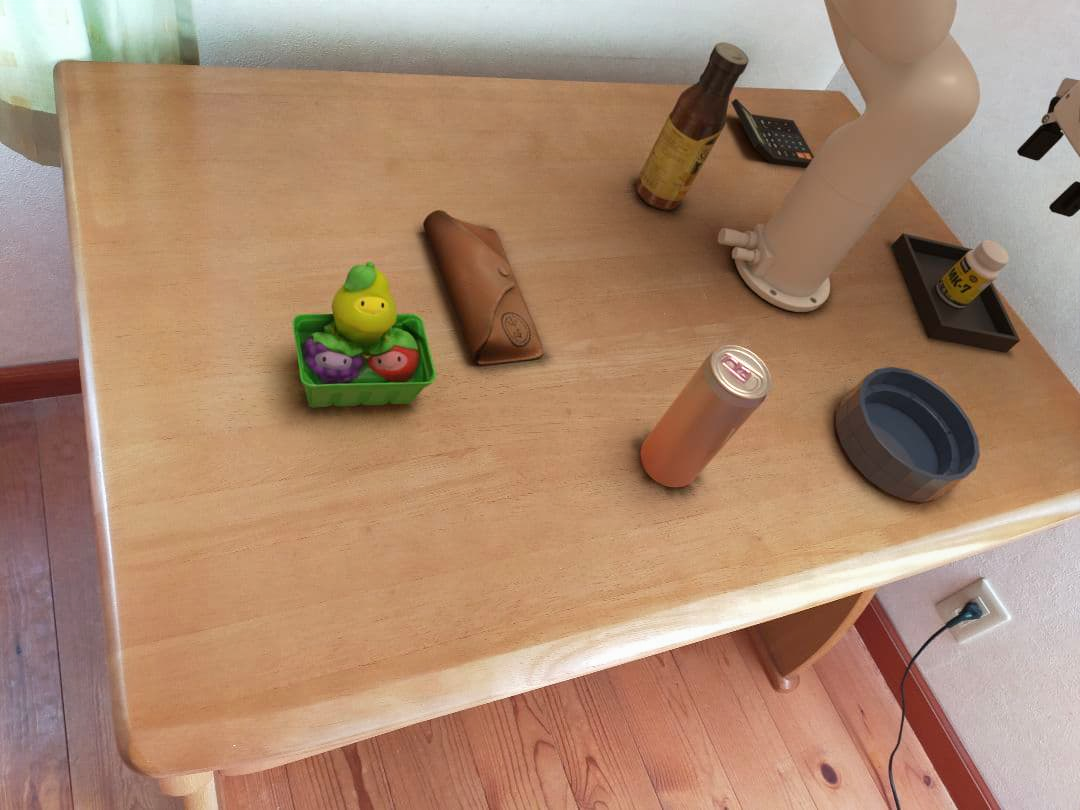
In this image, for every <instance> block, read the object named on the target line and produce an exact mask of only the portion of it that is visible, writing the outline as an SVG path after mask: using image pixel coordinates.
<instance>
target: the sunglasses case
mask: <svg viewBox="0 0 1080 810" xmlns="http://www.w3.org/2000/svg"><path fill="white" fill-rule="evenodd" d="M422 224H423V225H422V226H423V230H424V233H425V236H426V239H427V241H428V243H429V246H430V248H431V250H432V252H433V255H434V258H435V261H436V263H437V266H438V268H439V271H440V273H441V276H442V278H443V281H444V284H445V287H446V289H447V292H448V295H449V297H450V299H451V302H452V305H453V309H454V310H455V313H456V316H457V319H458V322H459V325H460V327H461V329H462V334H463V337H464V340H465V342H466V344H467V348H468V351H469V352H470V355H471V357H472V359H473V360H474V361H475V362H476V363H477V365H479V366H488V365H491V366H493V365H503V364H513V363H519V362H524V361H531V360H537V359H539V358H542V357H543V356H544V348H543V344H542V341H541V338H540V336H539V333H538V331H537V328H536V325H535V323H534V320H533V318H532V315H531V313H530V310H529V308H528V306H527V304H526V301H525V299H524V296H523V295H522V291H521V289H520V287H519V285H518V282H517V280H516V277H515V274H514V272H513V269H512V266H511V265H510V262H509V259H508V257H507V254H506V252H505V249H504V246H503V244H502V241H501V238H500V236H499V234H498V231H497V230H495V229H493V228H484V227H481V226H479V225H476V224H473V223H470V222H468V221H464V220H461V219H459V218H456V217H454V216H452V215H450V214H448V212H446V211H445V210H441V209H437V210H433V211H432V212H430V213H429V214H428V215H426V217H425V218H424V221H423V222H422Z"/></svg>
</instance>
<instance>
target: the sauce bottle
mask: <svg viewBox="0 0 1080 810" xmlns="http://www.w3.org/2000/svg"><path fill="white" fill-rule="evenodd" d="M749 60H750V59H749V56H748V55H747V54H746V53H745V52H744V51H743V50H742V48H740V47H739V46H736V45H735V44H732V43H729V42H725V41H724V42H723V41H722V42H717V43H716V44H715V46H714V47H713V49H712V51H711V52H710V55H709V58H708V63H707V64H706V66H705V68H704V70H703V72H702V73H701V74H700V76H699V81H697V82H696V83H694V84H692V85H690V86H689V87H687V88H686V89H684V90H683V92H681V94H680V95H679V97H678V98H677V100H676V102H675V105H674V107H673V109H672V111H671V112H670V113H669V114H668V117H667V119H666V120H665V122H664V125H663V126H662V128H661V131H659V134H658V137H657V138H656V140H655V142H654V145H653V146H652V148H651V151H650V152H649V154H648V156H647V159H646V161H645V163H644V164H643V167H642V168H641V171H640V173H639V177H638V179H637V180H636V184H635V186H636V191H637V193H638V195H639V197H640V198H641V199H642V200H643V201H644V202H645V203H647V204H648V205H649V206H651V207H654V208H657V209H659V210H665V211H667V210H668V211H669V210H673V209H675V208H676V207H678V206H679V204H681V201H682V200H683V199H684V198H685V197H686V196H687V194H688V192H689V190H690V189H691V187H692V185H693V183H694V181H695V180H696V179H697V176H698V175H699V173H700V171H701V169H702V168H703V165H704V164H705V162H706V161H707V159H708V157H709V155H710V153H711V152H712V150H713V148H714V147H715V144H716V142H717V141H718V139H719V137H720V136H721V133H722V132H723V129H724V128H725V127H726V126H725V125H726V122H727V121H726V120H727V114H728V108H729V107H728V106H729V102H730V97H731V96H730V95H731V94H732V92H733V89H734V88H735V85H736V83H737V81H738V80H739V77H740V76H741V75H742V74H743V73H744V72H745V71H746V68H747V66H748V64H749Z"/></svg>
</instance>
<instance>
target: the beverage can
mask: <svg viewBox="0 0 1080 810" xmlns="http://www.w3.org/2000/svg"><path fill="white" fill-rule="evenodd" d="M771 387H772V375H771V373H770V370H769V369H768V366H767V365H766V363H765V362H764V361H763V360H762V359H761V358H760V357H759V356H758V355H757V354H756V353H754V352H753V351H751V350H750V349H747V348H746V347H743V346H741V345H737V344H724V345H721V346H719V347H717V348H716V349H715V350H714V351H713V352H711V353H710V354H709V355H707V356H706V358H705V359H704V360H703V361H702V363H701V364H700V366H699V367H698V368H697V370H696V371H695V372H694V374H693V375H692V376H691V378H690V379H689V380H688V381H687V383H686V384H685V385H684V387H683V388H682V390H681V391H680V392H679V394H678V395H677V396H676V398H675V399H674V400H673V401H672V403H671V404H670V406H669V407H668V408H667V410H666V411H665V413H663V415H662V416H661V418H660V419H659V420H658V422H657V423H656V425H655V426H654V427H653V429H652V430H651V431H650V432H649V433H648V435H647V436H646V438H645V439H644V441H643V442H642V444H641V447H640V460H641V464H642V466H643V468H644V471H645V472H646V473H647V474H648V476H649V477H650V478H651V479H653V481H655V482H656V483H658V484H660V485H662V486H665V487H668V488H681V487H687V486H688V485H690V484H692V483H693V482H694V480H695V479H696V478H697V477H698V476H699V475H700V474H701V473H702V472H703V470H705V468H706V467H707V466H708V465H709V463H711V461H712V460H713V459H714V458H715V457H716V456H717V454H718V453H719V452H720V451H722V449H723V448H724V447H725V446H726V445H727V443H728V442H729V441H730V440H731V438H733V436H734V435H735V434H736V433H737V432H738V431H739V430H740V429H741V428H742V427H743V425H744V424H745V423H746V422H747V420H749V418H750V417H751V416H752V415H753V414H754V413H755V412H756V410H757V409H758V408H759V407H760V406H761V405H762V404H763V402H764V401H765V400H766V398H767V394H768V393H769V392H770V390H771Z"/></svg>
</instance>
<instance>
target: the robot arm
mask: <svg viewBox="0 0 1080 810" xmlns="http://www.w3.org/2000/svg"><path fill="white" fill-rule="evenodd" d="M823 3H824V6H825V9H826V13H827V16H828V19H829V23H830V26H831V30H832V33H833V36H834V40H835V43H836V47H837V50H838V52H839V55H840V58H841V60H842V62H843V64H844V66H845V68H846V70H847V72H848V74H849V76H850V77H851V79H852V80H853V82H854V84H855V86H856V88H857V89H858V91H859V93H860V96H861V98H862V100H863V101H864V103H865V109H864V111H863V113H862V114H861V115H860V116H859V117H857V118H855V119H854V120H851V121H849V122H846V123H845V124H843V125H841V126H839V127H838V128H837V129H835V130H834V131H833V132H832V133H831V134H829V135H828V137H827V138H826V139H825V140H824V142H823V143H822V145H821V146H820V148H819V149H818V151H817V152H816V153H815V155H814V158H813V160H812V161H811V162H810V164H809V165H808V167H807V168H805V170H803V172H802V174H801V175H800V176H799V178H798V179H797V181H796V182H795V184H794V185H793V186H792V188H791V189H790V191H789V192H788V194H787V195H786V196H785V198H784V199H783V201H782V202H781V204H780V205H779V206H778V208H777V209H776V210H775V212H774V213H773V214H772V216H771V218H770V219H769V221H768V222H767V223H766V224H762V223H757V224H756V225H755V227H754V229H753V230H745V231H744V232H742V231H738V230H736V229H732V228H727V227H722V228H721V229H720V230H719V231H718V234H717V243H718V244H719V245H724V246H728V247H733V249H732V251H731V258H732V259H733V260H734V263H735V266H736V269H737V271H738V274H739V276H740V277H741V278H742V280H743V281H744V282H745V284H746V285H747V286H748V287H749V288H750V289H751V290H752V291H753V292H754V293H755V294H757V296H759V297H760V298H761V299H763V300H764V301H766V302H767V303H769V304H772V305H773V306H775V307H778V308H780V309H784V310H786V311H789V312H790V311H791V312H796V313H808V312H812V311H815V310H817V309H819V308H820V307H822V305H823V304H825V302H826V300H827V299H828V298H829V296H830V293H831V281H830V276H831V274H832V273H833V272H834V270H835V269H836V268H837V267H838V266H839V264H841V263H842V261H843V260H844V259H845V257H847V256H848V254H849V252H850V251H851V250H852V249H853V248H854V247H855V245H856V244H857V243H858V242H859V240H861V238H862V237H863V235H864V234H865V233H866V232H867V231H868V229H869V228H871V226H872V224H873V223H874V222H875V221H876V220H877V218H879V216H880V215H881V214H882V213H883V211H885V209H886V208H887V207H888V205H889V204H890V203H891V202H892V200H893V199H894V198H895V197H896V195H897V194H898V193H899V192H900V191H901V190H902V188H903V187H904V186H905V185H906V184H907V183H908V181H909V180H910V179H911V178H912V177H913V176H914V175H915V174H916V172H918V170H919V169H920V168H921V167H922V166H924V164H925V163H927V161H929V159H931V158H932V157H933V156H934V155H935V154H937V153H938V152H939V151H940V150H942V149H943V147H945V146H947V145H948V144H949V143H950V142H951V141H952V140H954V139H955V138H957V136H958V135H959V134H960V133H962V132H963V131H964V129H966V128H967V127H968V125H969V124H970V123H971V121H972V120H973V119H974V117H975V115H976V113H977V110H978V109H979V108H978V107H979V103H980V98H981V89H980V82H979V79H978V76H977V73H976V71H975V68H974V67H973V64H972V63H971V61H970V59H969V58H968V56H967V55H966V53H965V51H963V49H962V47H961V46H960V45H959V44H958V42H957V40H956V39H955V38H954V36H953V35H952V34H951V33H950V31H951V29H952V27H953V24H954V21H955V17H956V13H957V7H958V5H957V4H958V0H823ZM1040 123H1041V124H1040V125H1039V126H1038V128H1037V129H1036V130H1035V131H1034V132H1033V133H1032V134H1031V135H1030V136H1029V137H1028V138H1027V139H1026V140H1025V141H1024V142H1023V143H1022V144H1021V145H1020V146H1019V147H1018V149H1017V150H1016V153H1017V154H1018V156H1020V157H1022V158H1027V159H1028V160H1033V161H1035V162H1039V161H1040V160H1041V159H1043V157H1044V156H1045V155H1047V154H1048V152H1049V151H1050V150H1051V149H1052V148H1053V147H1054V146H1055V145H1057V143H1058V142H1059V141H1060V140H1061V139H1062V138H1063V136H1065V138H1066V139H1067V141H1068V142H1069V144H1070V145H1071V147H1072V149H1073V150H1074V152H1075V153H1076V155H1077V156H1078V157H1079V158H1080V79H1076V78H1075V79H1074V78H1071V77H1065V78H1063V80H1062V81H1061V82H1060V84H1059V87H1058V89H1057V91H1056V92H1055V96H1053V97H1052V98H1051V99H1050V101H1049V105H1048V109H1047V111H1046V113H1045V114H1044V115H1043V116H1042V117H1041V119H1040ZM1048 208H1049V210H1050V212H1051V213H1055V214H1058V215H1060V216H1064V217H1068V218H1071V217H1073V216H1074V215H1076V213H1078V212H1079V211H1080V181H1078V180H1076V181H1074V182H1073V183H1071V184H1070V185H1069V186H1068V187H1067V188H1066V189H1065V190H1064V191H1063V192H1062V193H1061V194H1059V196H1058V197H1057V198H1056V199H1055V200H1053V202H1051V203H1050V204H1049V207H1048Z"/></svg>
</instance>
